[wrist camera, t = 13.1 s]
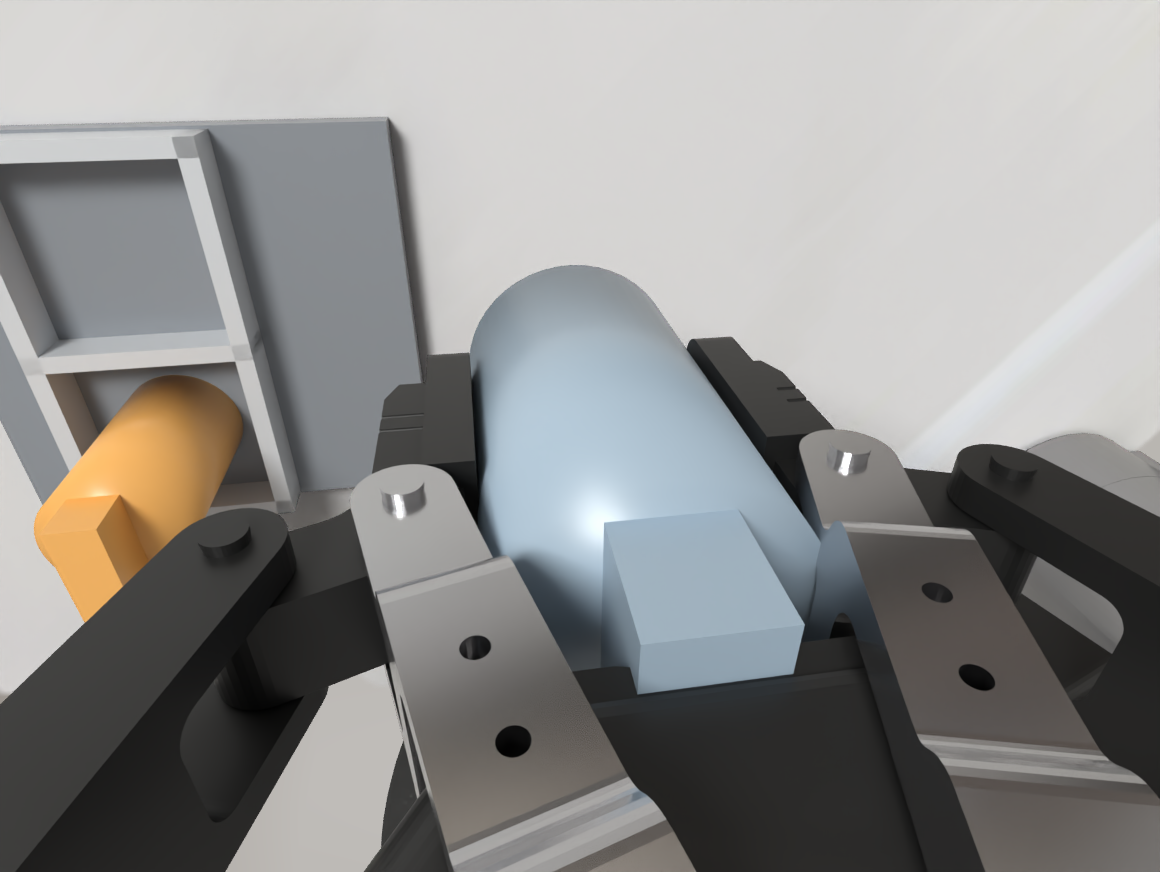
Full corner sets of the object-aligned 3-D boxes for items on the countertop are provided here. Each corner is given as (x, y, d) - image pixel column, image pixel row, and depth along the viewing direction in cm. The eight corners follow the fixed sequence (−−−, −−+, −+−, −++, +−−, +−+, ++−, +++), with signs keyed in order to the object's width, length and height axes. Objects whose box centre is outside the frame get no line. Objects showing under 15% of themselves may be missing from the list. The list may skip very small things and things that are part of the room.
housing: (387, 116, 23) (382, 127, 21) (434, 466, 31) (433, 500, 28) (-121, 128, 21) (-183, 141, 19) (60, 500, 28) (29, 540, 26)
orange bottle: (227, 370, 26) (143, 512, 19) (254, 461, 28) (188, 619, 21) (110, 379, 25) (-24, 529, 18) (147, 470, 27) (40, 637, 20)
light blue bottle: (677, 260, 13) (960, 572, 6) (663, 442, 15) (859, 839, 8) (460, 270, 13) (473, 629, 5) (476, 458, 15) (503, 899, 7)
